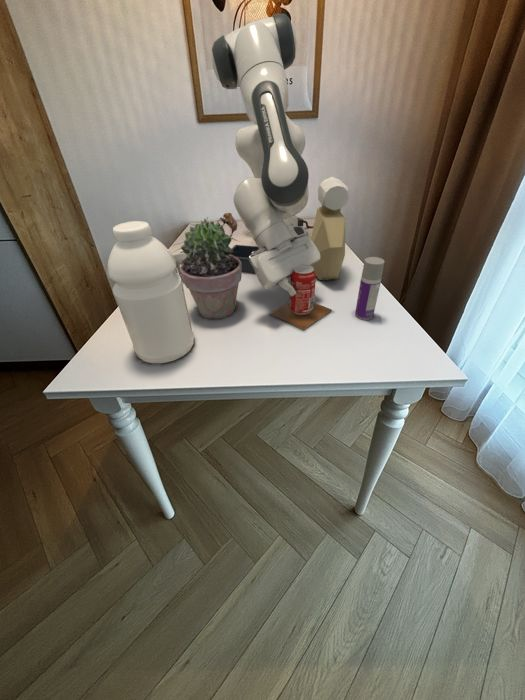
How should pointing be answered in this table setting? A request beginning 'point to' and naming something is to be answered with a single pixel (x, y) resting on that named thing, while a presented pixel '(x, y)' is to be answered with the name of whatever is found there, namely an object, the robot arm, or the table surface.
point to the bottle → (149, 294)
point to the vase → (330, 228)
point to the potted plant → (211, 267)
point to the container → (369, 287)
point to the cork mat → (301, 320)
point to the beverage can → (303, 289)
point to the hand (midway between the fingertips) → (304, 289)
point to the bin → (244, 256)
